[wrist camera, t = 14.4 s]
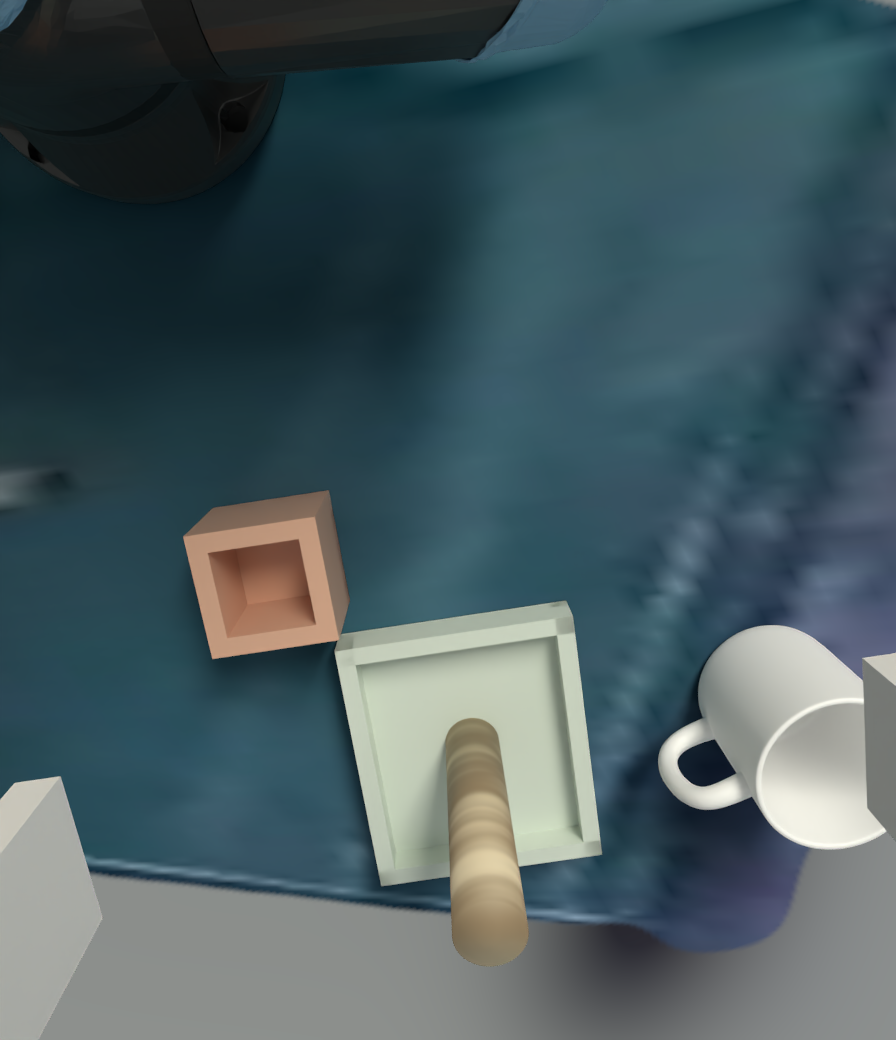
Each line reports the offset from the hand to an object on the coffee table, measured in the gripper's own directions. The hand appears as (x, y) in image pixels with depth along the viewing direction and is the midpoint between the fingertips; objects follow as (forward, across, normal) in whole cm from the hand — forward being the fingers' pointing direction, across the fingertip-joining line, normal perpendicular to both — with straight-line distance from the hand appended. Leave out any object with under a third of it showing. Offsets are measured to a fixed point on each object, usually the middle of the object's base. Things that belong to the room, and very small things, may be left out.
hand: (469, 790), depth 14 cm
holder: (+35, -10, -5) cm, 36 cm away
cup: (+35, +15, -18) cm, 42 cm away
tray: (+35, -1, -18) cm, 39 cm away
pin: (+34, -1, -18) cm, 38 cm away
